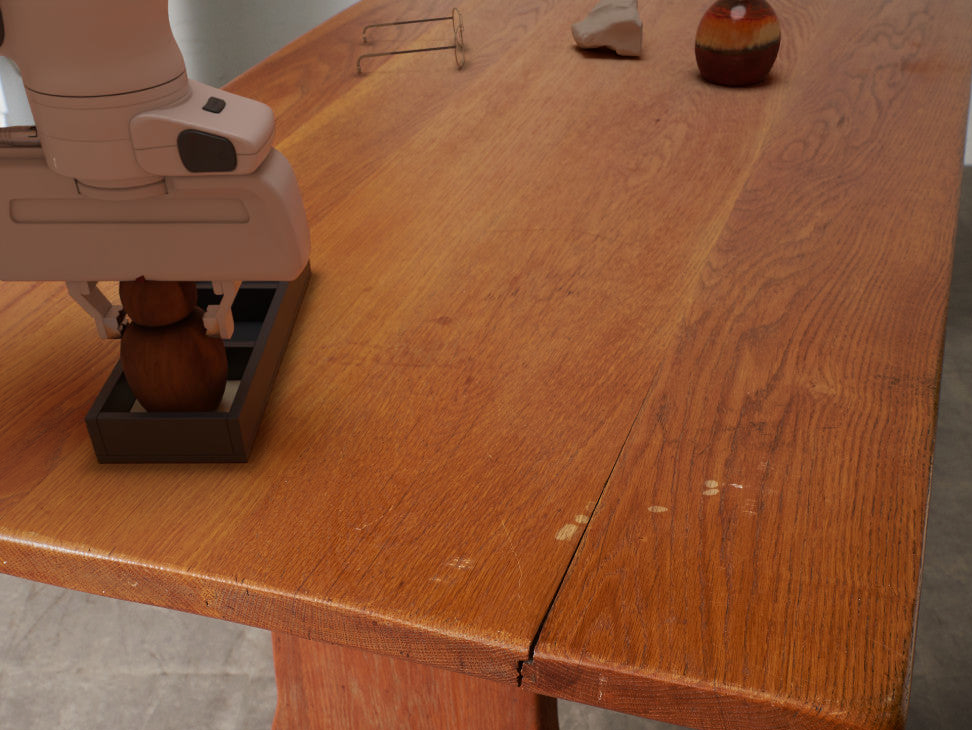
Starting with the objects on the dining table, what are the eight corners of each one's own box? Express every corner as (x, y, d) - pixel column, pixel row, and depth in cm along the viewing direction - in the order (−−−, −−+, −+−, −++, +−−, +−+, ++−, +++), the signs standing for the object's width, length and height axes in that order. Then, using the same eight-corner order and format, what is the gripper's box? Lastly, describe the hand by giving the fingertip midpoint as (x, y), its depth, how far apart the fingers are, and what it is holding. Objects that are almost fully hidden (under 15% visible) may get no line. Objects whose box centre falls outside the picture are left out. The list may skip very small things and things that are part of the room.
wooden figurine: (192, 378, 75) (146, 180, 65) (250, 400, 73) (211, 198, 63) (122, 422, 70) (61, 216, 61) (181, 447, 68) (128, 237, 59)
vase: (756, 95, 130) (776, -39, 120) (677, 82, 135) (690, -49, 125) (786, 73, 137) (806, -55, 128) (710, 62, 142) (724, -63, 132)
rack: (97, 463, 68) (83, 418, 66) (199, 273, 90) (190, 235, 88) (247, 462, 68) (238, 418, 66) (311, 273, 90) (306, 235, 88)
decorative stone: (561, 32, 148) (602, -31, 144) (607, 70, 152) (649, 10, 149) (578, 45, 139) (623, -22, 136) (627, 84, 143) (672, 21, 140)
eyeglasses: (466, 71, 139) (465, 32, 135) (357, 73, 138) (353, 34, 135) (463, 40, 151) (462, 3, 148) (362, 42, 150) (359, 5, 147)
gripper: (-84, 144, 56) (-4, 359, 65) (280, 144, 56) (312, 359, 65) (-37, 108, 61) (31, 313, 70) (299, 108, 61) (325, 312, 70)
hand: (169, 335), depth 68 cm, fingers closed on wooden figurine, 6 cm apart
